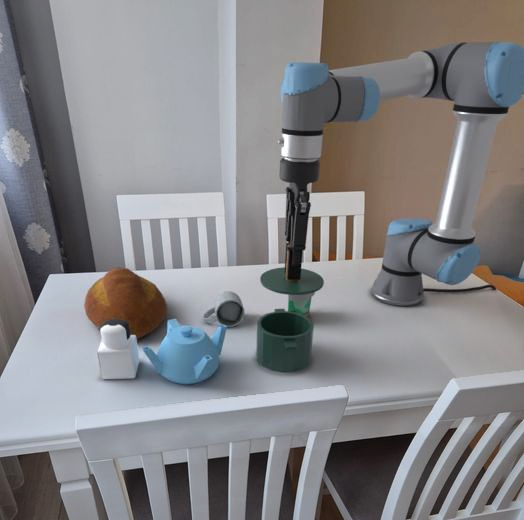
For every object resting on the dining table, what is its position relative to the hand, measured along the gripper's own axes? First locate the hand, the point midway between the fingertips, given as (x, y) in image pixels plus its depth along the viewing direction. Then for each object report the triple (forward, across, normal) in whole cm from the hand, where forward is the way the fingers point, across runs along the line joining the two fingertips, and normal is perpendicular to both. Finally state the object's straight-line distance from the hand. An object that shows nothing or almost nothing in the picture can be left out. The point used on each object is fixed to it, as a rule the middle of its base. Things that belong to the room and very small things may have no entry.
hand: (292, 275), depth 101 cm
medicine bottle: (+21, +2, -38) cm, 43 cm away
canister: (+21, 0, -1) cm, 21 cm away
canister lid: (+1, 0, 0) cm, 1 cm away
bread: (+21, -25, -40) cm, 52 cm away
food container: (+21, -20, +7) cm, 30 cm away
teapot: (+21, +3, -23) cm, 31 cm away
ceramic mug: (+21, -20, -14) cm, 32 cm away
